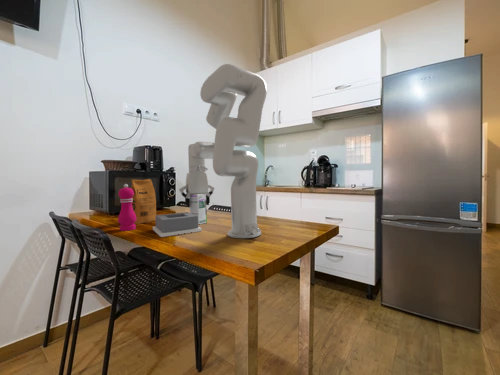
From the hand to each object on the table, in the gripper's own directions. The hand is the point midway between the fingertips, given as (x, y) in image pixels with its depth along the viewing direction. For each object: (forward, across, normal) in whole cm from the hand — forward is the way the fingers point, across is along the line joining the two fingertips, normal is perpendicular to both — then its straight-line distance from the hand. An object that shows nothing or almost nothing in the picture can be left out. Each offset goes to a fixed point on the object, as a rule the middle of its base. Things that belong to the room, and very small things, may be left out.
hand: (197, 205), depth 114 cm
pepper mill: (+9, +30, -6) cm, 32 cm away
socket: (+8, +13, +10) cm, 18 cm away
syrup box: (+9, 0, 0) cm, 9 cm away
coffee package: (+9, +22, -22) cm, 32 cm away
